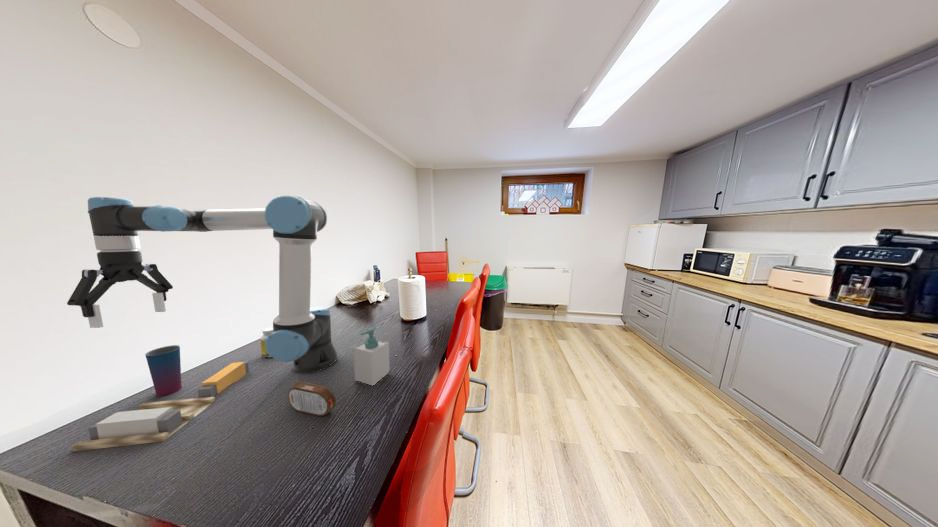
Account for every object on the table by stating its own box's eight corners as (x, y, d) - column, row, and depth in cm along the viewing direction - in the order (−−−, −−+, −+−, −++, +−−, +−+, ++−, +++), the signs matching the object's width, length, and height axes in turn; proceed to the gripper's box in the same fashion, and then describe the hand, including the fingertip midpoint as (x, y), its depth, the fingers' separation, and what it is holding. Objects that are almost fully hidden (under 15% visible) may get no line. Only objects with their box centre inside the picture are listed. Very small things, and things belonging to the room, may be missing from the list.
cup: (162, 402, 74) (154, 356, 72) (146, 398, 75) (139, 354, 73) (191, 388, 80) (185, 346, 79) (176, 385, 82) (170, 344, 80)
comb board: (215, 403, 74) (214, 396, 73) (164, 443, 59) (163, 435, 59) (145, 409, 71) (144, 402, 70) (73, 454, 56) (71, 445, 56)
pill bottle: (261, 359, 99) (259, 333, 97) (262, 353, 104) (259, 328, 102) (281, 355, 103) (279, 329, 101) (281, 349, 108) (279, 325, 106)
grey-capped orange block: (238, 372, 90) (236, 359, 89) (250, 371, 91) (248, 359, 90) (198, 401, 74) (196, 386, 74) (212, 400, 75) (211, 385, 74)
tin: (337, 412, 71) (335, 386, 70) (328, 420, 68) (327, 393, 67) (296, 403, 74) (294, 378, 73) (286, 411, 71) (284, 385, 70)
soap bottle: (354, 381, 85) (351, 331, 83) (372, 368, 94) (370, 322, 91) (372, 387, 82) (370, 335, 80) (389, 373, 90) (388, 326, 88)
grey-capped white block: (183, 422, 65) (180, 406, 64) (167, 435, 61) (164, 417, 60) (110, 430, 62) (107, 412, 62) (89, 443, 58) (85, 425, 58)
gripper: (162, 248, 84) (171, 306, 86) (29, 254, 59) (48, 335, 61) (182, 248, 83) (191, 306, 86) (58, 254, 59) (75, 336, 61)
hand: (131, 318), depth 74 cm, fingers open, 13 cm apart
